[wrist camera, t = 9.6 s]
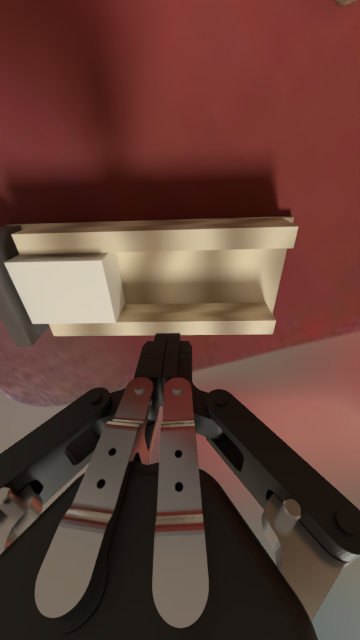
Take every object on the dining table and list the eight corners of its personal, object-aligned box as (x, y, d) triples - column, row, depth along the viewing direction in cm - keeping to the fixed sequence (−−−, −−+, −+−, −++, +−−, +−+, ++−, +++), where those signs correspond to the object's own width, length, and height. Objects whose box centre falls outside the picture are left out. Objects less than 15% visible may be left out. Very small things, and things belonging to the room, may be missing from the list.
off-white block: (115, 246, 22) (101, 260, 18) (125, 302, 25) (115, 322, 22) (31, 248, 22) (3, 262, 19) (53, 303, 25) (32, 324, 22)
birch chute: (291, 216, 20) (322, 230, 16) (270, 312, 26) (288, 343, 21) (7, 224, 22) (-42, 240, 17) (45, 314, 27) (16, 345, 22)
